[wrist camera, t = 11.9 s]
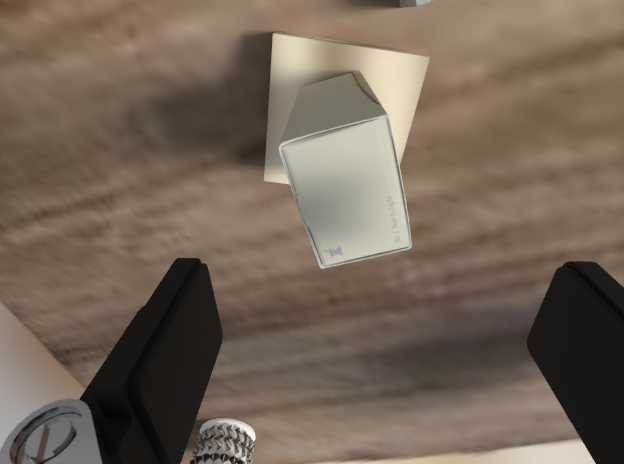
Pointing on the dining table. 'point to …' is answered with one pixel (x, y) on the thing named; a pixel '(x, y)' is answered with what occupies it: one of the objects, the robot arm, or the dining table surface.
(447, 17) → the dining table surface
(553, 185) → the dining table surface
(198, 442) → the decorative candle
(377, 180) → the skincare box
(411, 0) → the grey cube
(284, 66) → the pedestal
